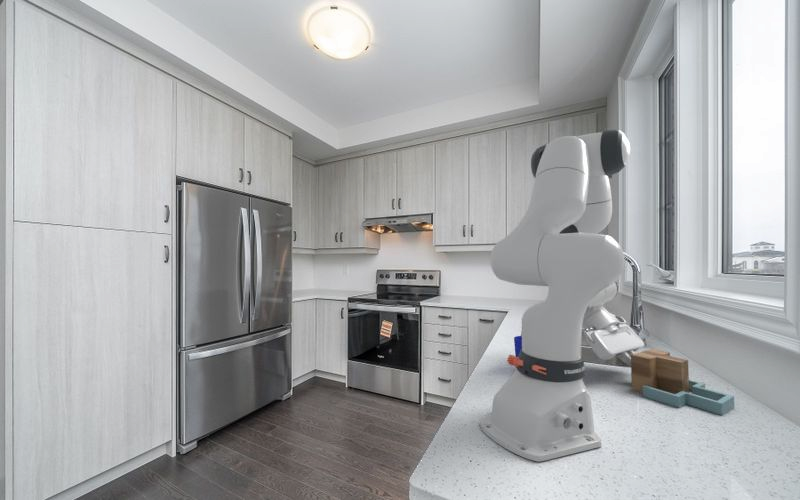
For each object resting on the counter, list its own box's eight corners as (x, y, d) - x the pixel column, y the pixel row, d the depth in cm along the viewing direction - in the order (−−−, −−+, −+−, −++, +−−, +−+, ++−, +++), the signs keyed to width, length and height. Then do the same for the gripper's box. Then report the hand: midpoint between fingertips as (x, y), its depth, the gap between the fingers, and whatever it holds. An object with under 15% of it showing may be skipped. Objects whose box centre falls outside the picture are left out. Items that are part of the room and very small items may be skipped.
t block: (675, 403, 72) (674, 365, 72) (631, 389, 79) (630, 354, 80) (695, 393, 77) (694, 357, 78) (652, 381, 85) (651, 348, 86)
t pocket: (715, 419, 64) (715, 407, 64) (642, 396, 75) (642, 386, 76) (740, 403, 72) (739, 392, 72) (670, 384, 83) (670, 374, 83)
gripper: (588, 322, 85) (629, 369, 76) (625, 316, 95) (665, 357, 86) (573, 335, 89) (610, 381, 80) (609, 328, 99) (646, 368, 90)
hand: (639, 368), depth 83 cm, fingers closed
